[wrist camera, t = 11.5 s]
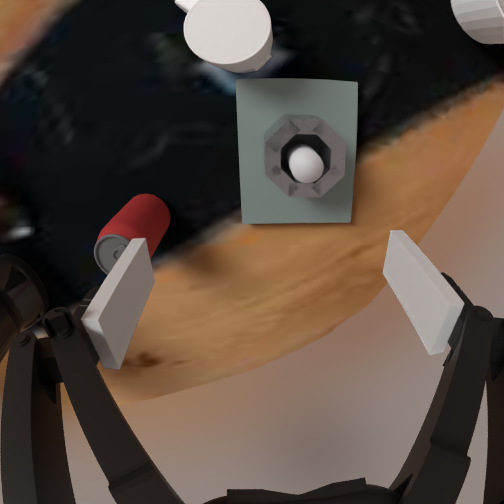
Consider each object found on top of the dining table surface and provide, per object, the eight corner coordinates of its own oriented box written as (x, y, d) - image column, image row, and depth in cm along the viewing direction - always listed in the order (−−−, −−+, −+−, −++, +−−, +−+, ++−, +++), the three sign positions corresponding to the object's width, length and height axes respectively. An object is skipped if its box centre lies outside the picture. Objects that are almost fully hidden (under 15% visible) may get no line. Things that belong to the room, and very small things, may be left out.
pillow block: (243, 217, 42) (239, 250, 34) (236, 80, 33) (230, 76, 25) (346, 216, 41) (365, 248, 34) (352, 82, 33) (379, 81, 25)
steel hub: (264, 180, 37) (265, 197, 32) (263, 114, 33) (264, 118, 28) (330, 181, 37) (342, 197, 31) (333, 115, 33) (347, 121, 28)
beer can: (180, 211, 42) (155, 256, 31) (155, 244, 44) (127, 293, 34) (142, 182, 40) (104, 218, 29) (119, 217, 42) (81, 260, 32)
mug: (484, 56, 28) (530, 58, 19) (439, 4, 25) (481, -9, 16) (511, 15, 23) (554, 12, 14) (471, -34, 20) (510, -47, 11)
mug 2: (296, 29, 23) (235, 86, 25) (287, 43, 31) (241, 88, 34) (200, -41, 19) (142, 16, 22) (213, -14, 27) (168, 31, 30)
